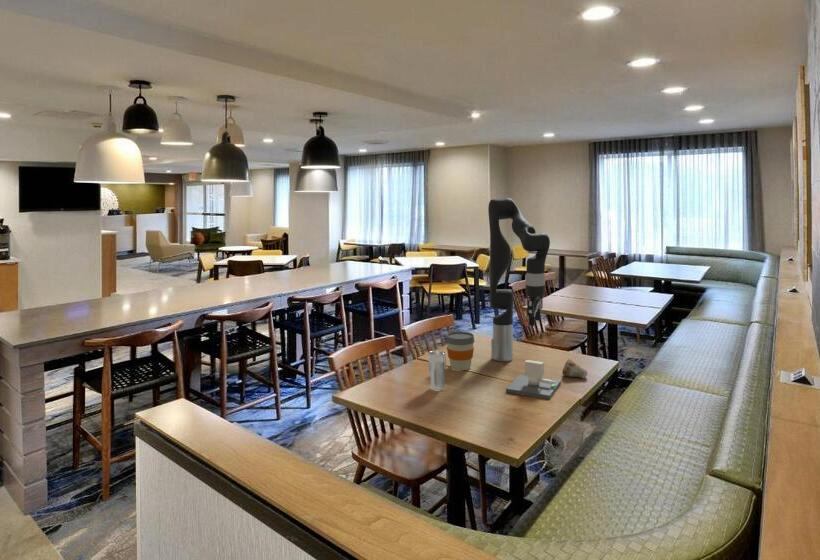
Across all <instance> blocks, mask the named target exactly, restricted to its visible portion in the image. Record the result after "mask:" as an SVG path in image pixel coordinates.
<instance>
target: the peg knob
mask: <svg viewBox="0 0 820 560" xmlns="http://www.w3.org/2000/svg"><path fill="white" fill-rule="evenodd" d="M544 369H545V363H544V361H538V360H537V361H536V360H529V359H526V360H524V375H525V376H528V384H529V385H533V386H537V385H539V384H540V382H541V383H548V384H551V380H548V379H549V378H548V379H542V378H545V374H544V371H545V370H544Z"/></svg>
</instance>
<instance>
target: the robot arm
mask: <svg viewBox="0 0 820 560" xmlns="http://www.w3.org/2000/svg"><path fill="white" fill-rule="evenodd" d="M487 208H488V211H487V212H488V221H489V222H488V223H489V263H490V265H489V266H490V268H489V269H490V285H489V286H490V287H489V306H490V308H491V309H493V310H505V311H504V312H502V313H500V314H498V315H497V314H496V315H494V316H493V318H492V339H491V340H490V341H491V342H490V343H491V347H490V348H491V356H490V357H491V360H494V361H497V362H509V361H512V360H513V358H514V357H513V356H514V353H513V351H514V347H513V346H514V340H513V339H514V318H513V317H514V313H513V311H514V292H513V290H512V289H510V288H509V289H508V288H502V289H501V288H499V289H498V285H499V283H500V281H501V278H502V277H503V276H504V274H505V272H507V270H508V268H509V266H510V265H511V260H512V257H511V255H512V254H511V253H512V250H511V246H510V244H509V242H508V240H507V239H506V237H505V236H504V235H503V233H502V231H501V227H500V220H501V221H502V220H507V219H511V220H512V221H511V230H512V232H513V233H514V234H515V235H516V236H517V238H518V239H519V240H520V243H521V246H522V248H523V250H524V251H526V252H528V253H532V252H535V255H533V256H530V257H529V258H527V259H526V275H525V295H526V296H527V297H530V298H529V300H527V302H526V303H527V304H526V316H527V317H528V325H529V326H532V327H534V326H535V325H536V321H538V322H539V321H541V320H542V319H541V316H542V315H541V312H542V310H543V306H544V305H543V302H544V301H543V297H544V296H545V295H546V273H545V271H546V270H545V269H546V268H545V267H546V265H545V264H546V260H547V257H548V252H549V250H550V244H551V241H550V240H551V239H550V237H549V235H548V234H547V233H544V232H539V233H537V232H536V229H535V228H534V226H533V225H532V224H531V223H529V221H528V220H527V219H526V218H525V217H524V216H523V214H522V212H521V210H520V208H519V207H518V205H517V204H516V202H515V201H514V200H513V199H512V198H510V197H504V198H495V199H494V198H493V199H491V200H490V201H489V203H488V207H487Z"/></svg>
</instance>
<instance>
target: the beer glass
mask: <svg viewBox="0 0 820 560" xmlns="http://www.w3.org/2000/svg"><path fill="white" fill-rule="evenodd" d="M427 363H428V366H427V367H428V372H429V376H430V377H429V378H430V384H429V385H430V386H429V389H430V388H431V389H433V390H443V389H444V388H445V389H446V386H445V373H446V364H447V360H446V352H445V351H443V350H431V351H429V352H428V361H427ZM443 391H444V390H443Z"/></svg>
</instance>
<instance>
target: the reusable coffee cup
mask: <svg viewBox="0 0 820 560" xmlns="http://www.w3.org/2000/svg"><path fill="white" fill-rule="evenodd" d="M445 342H446V343H447V347H446V351H447V357H448V360H449V365H450V369H451V368H452V369H451V370H453V369H455V370H454V371H456V370H465V371H468V370H467V369H469V368H470V367H471V366H472V359H473V357H474V349H475V347H474V343H475V336H474V334H473V333H472V332H465V331H455V332H454V331H453V332H450V333H447V334H446V339H445ZM470 369H471V368H470ZM470 369H469V370H470Z"/></svg>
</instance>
